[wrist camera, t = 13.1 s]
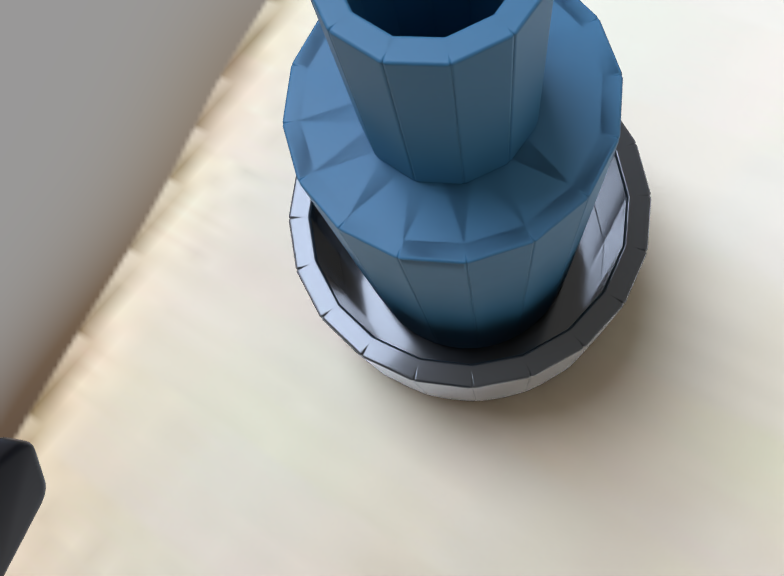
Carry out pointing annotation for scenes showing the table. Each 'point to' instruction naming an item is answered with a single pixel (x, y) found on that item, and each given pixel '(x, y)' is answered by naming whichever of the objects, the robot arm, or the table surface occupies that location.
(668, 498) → the table surface
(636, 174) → the cup holder
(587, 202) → the bottle
